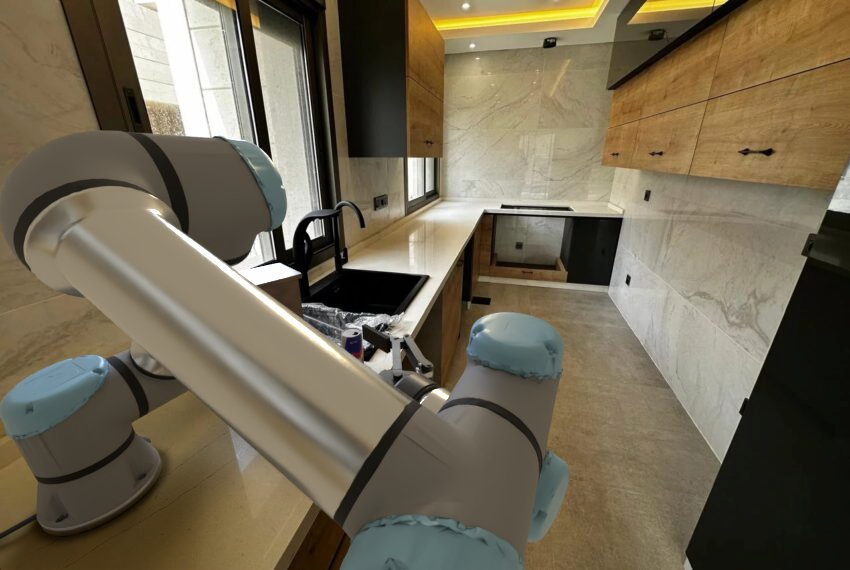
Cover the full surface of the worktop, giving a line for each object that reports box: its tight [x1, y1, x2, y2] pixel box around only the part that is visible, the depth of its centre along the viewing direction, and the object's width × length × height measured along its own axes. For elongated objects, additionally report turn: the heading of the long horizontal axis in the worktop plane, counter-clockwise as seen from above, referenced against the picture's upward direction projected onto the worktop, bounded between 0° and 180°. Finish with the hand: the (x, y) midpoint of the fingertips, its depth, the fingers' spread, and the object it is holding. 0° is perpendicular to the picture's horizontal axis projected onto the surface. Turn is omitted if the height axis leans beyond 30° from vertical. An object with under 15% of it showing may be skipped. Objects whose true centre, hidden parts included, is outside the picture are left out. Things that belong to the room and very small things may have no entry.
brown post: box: [238, 262, 305, 320], centre depth 76 cm, size 10×11×30 cm
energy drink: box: [340, 327, 365, 364], centre depth 85 cm, size 5×5×12 cm
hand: (328, 346), depth 52 cm, fingers open, 13 cm apart
